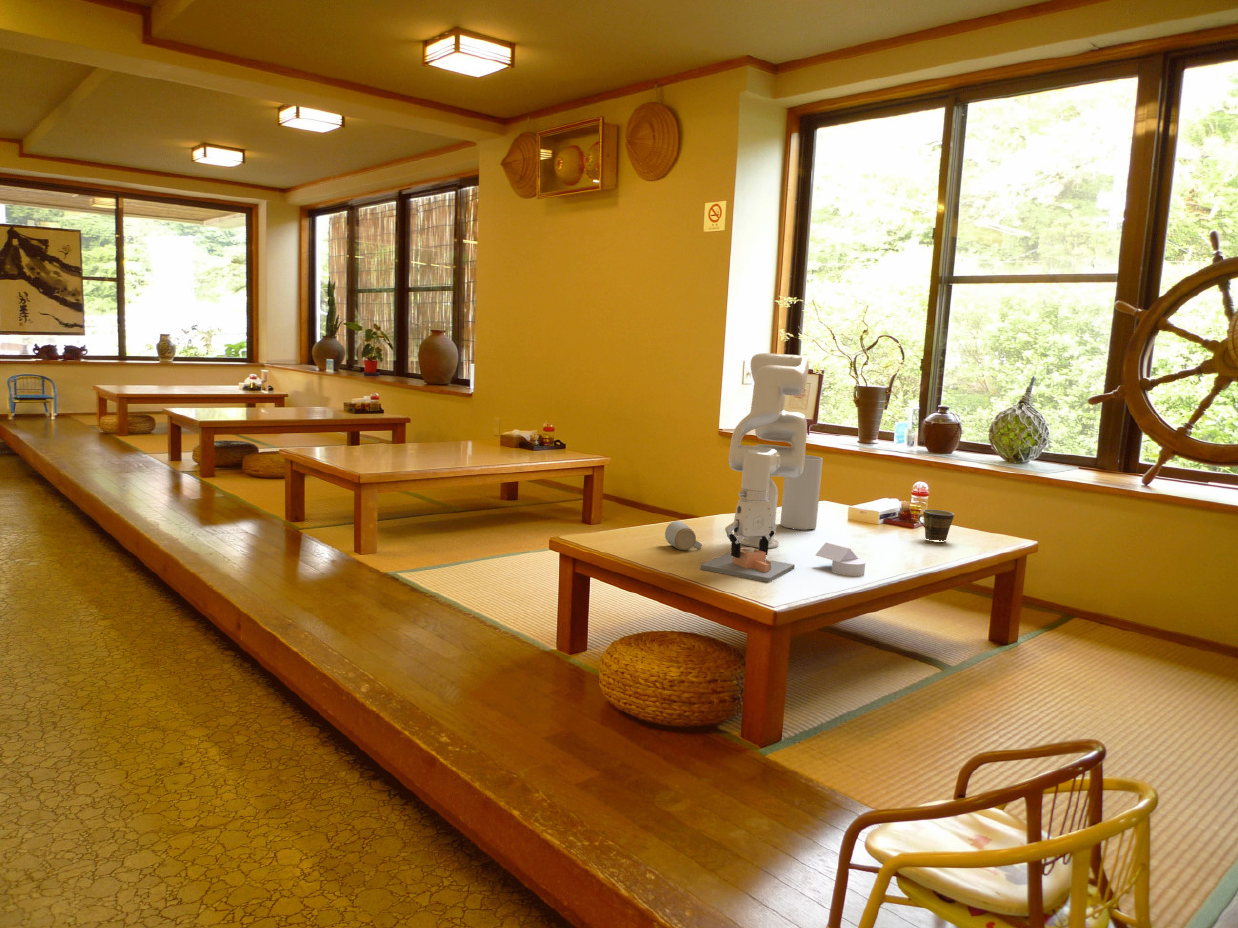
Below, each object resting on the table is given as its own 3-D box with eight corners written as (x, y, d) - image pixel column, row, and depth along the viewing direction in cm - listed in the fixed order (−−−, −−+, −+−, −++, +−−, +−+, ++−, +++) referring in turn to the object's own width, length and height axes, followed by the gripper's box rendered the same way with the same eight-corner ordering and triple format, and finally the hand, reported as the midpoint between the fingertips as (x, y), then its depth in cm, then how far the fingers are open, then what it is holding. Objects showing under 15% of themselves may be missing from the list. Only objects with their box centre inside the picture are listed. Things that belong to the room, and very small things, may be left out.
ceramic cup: (938, 537, 308) (941, 509, 307) (957, 544, 299) (960, 515, 297) (906, 537, 304) (910, 509, 302) (925, 544, 294) (928, 515, 293)
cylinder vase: (808, 532, 302) (815, 460, 299) (774, 526, 309) (780, 456, 305) (821, 527, 312) (827, 458, 309) (788, 521, 319) (794, 453, 316)
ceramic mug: (674, 551, 260) (676, 526, 259) (663, 545, 267) (665, 520, 266) (706, 551, 263) (708, 526, 262) (695, 545, 271) (697, 520, 270)
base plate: (729, 556, 258) (730, 537, 257) (794, 568, 248) (796, 549, 247) (700, 568, 241) (701, 548, 240) (768, 582, 231) (770, 561, 230)
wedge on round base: (813, 566, 253) (851, 577, 243) (816, 543, 252) (853, 553, 242) (833, 563, 258) (870, 573, 248) (835, 541, 257) (873, 550, 247)
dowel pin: (766, 568, 241) (767, 559, 241) (771, 569, 240) (772, 560, 240) (764, 569, 240) (765, 560, 240) (769, 570, 239) (770, 561, 239)
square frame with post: (732, 562, 246) (733, 548, 245) (750, 561, 249) (751, 547, 248) (757, 572, 236) (758, 558, 235) (775, 570, 239) (777, 556, 239)
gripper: (737, 499, 235) (732, 561, 237) (787, 496, 243) (782, 556, 246) (720, 493, 241) (716, 554, 244) (770, 491, 250) (765, 549, 252)
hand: (749, 555), depth 245 cm, fingers open, 9 cm apart
